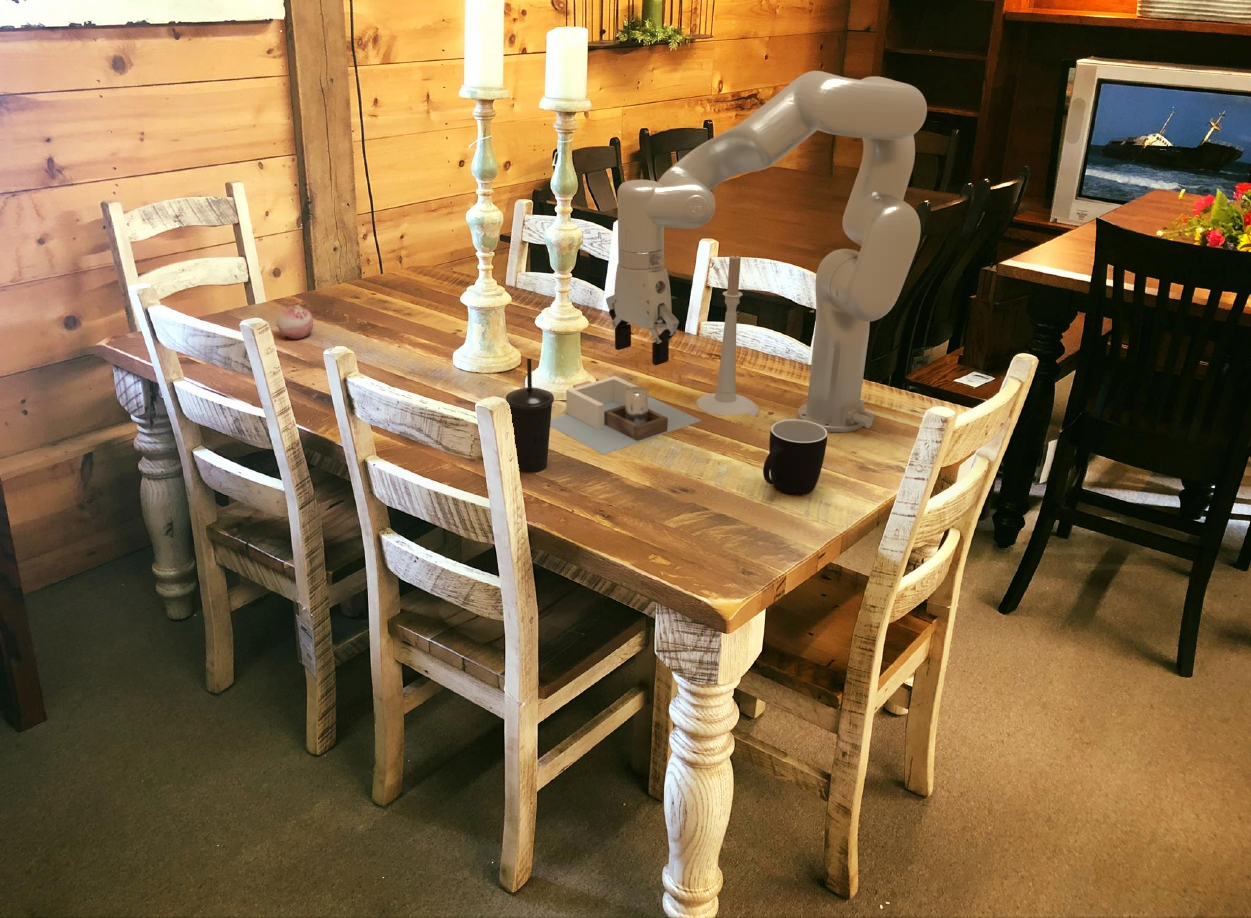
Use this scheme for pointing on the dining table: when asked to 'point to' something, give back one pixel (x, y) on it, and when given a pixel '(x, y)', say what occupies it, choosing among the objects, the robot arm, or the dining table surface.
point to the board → (610, 438)
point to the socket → (632, 430)
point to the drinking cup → (531, 424)
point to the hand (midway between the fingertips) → (641, 355)
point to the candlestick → (729, 357)
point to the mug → (795, 456)
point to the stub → (636, 405)
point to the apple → (295, 322)
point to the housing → (595, 399)
